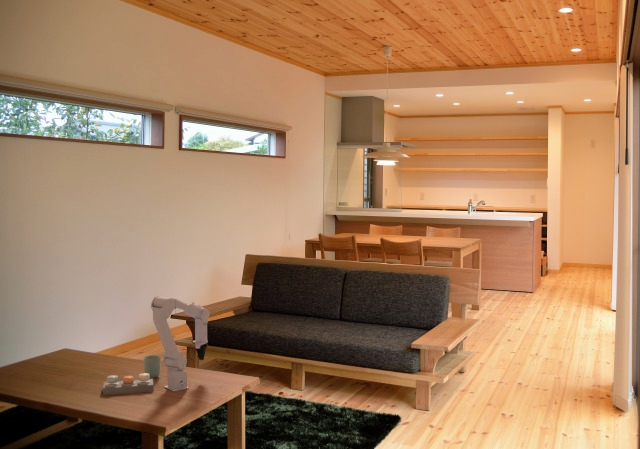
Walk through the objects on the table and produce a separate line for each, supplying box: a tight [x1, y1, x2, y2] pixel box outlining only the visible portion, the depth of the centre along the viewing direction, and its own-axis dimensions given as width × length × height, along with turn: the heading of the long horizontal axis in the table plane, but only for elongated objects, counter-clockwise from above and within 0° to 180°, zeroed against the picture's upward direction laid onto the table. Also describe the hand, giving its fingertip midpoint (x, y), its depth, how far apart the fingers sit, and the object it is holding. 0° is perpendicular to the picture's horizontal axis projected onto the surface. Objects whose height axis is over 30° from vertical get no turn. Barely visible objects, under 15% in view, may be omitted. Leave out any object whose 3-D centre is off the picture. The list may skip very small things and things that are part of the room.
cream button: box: [138, 372, 151, 381], centre depth 313 cm, size 5×5×2 cm
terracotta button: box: [122, 375, 135, 384], centre depth 312 cm, size 5×5×2 cm
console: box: [102, 378, 154, 396], centre depth 312 cm, size 22×10×3 cm, turn 105°
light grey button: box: [106, 374, 119, 384], centre depth 310 cm, size 5×5×2 cm
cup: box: [143, 354, 162, 379], centre depth 332 cm, size 8×8×10 cm
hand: (201, 359), depth 329 cm, fingers closed
